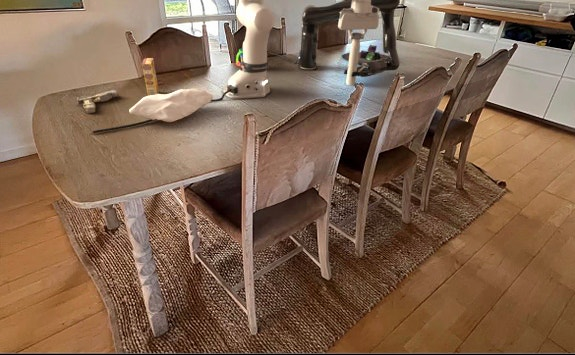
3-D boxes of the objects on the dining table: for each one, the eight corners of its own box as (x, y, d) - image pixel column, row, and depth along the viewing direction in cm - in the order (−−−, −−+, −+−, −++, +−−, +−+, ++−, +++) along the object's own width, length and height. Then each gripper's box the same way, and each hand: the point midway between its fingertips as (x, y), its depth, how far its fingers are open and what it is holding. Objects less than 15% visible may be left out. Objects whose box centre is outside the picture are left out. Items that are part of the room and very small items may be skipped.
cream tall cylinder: (346, 85, 188) (353, 35, 175) (345, 82, 192) (351, 33, 179) (355, 85, 189) (362, 35, 175) (353, 82, 193) (360, 33, 179)
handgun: (128, 97, 156) (111, 87, 164) (86, 107, 144) (70, 97, 152) (129, 103, 157) (113, 94, 165) (88, 114, 146) (72, 103, 154)
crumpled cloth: (117, 110, 146) (113, 90, 140) (195, 92, 166) (194, 73, 160) (143, 139, 134) (140, 118, 128) (223, 116, 154) (224, 96, 148)
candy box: (157, 97, 164) (152, 63, 155) (147, 98, 163) (141, 63, 155) (158, 91, 171) (153, 57, 163) (149, 91, 170) (143, 58, 162)
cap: (360, 40, 176) (361, 34, 175) (351, 39, 177) (351, 33, 176) (361, 38, 180) (362, 33, 178) (352, 37, 181) (353, 32, 179)
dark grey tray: (408, 61, 231) (410, 46, 226) (368, 68, 213) (370, 52, 209) (368, 52, 256) (369, 39, 251) (330, 58, 238) (331, 43, 234)
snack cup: (256, 64, 215) (256, 46, 209) (265, 68, 208) (265, 50, 202) (232, 67, 207) (231, 49, 202) (240, 72, 200) (240, 53, 195)
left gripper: (343, 9, 165) (340, 41, 173) (382, 9, 171) (377, 39, 179) (337, 7, 170) (334, 38, 178) (375, 7, 176) (371, 36, 184)
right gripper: (361, 58, 198) (339, 62, 188) (382, 64, 188) (359, 69, 179) (359, 72, 202) (337, 76, 192) (379, 78, 192) (357, 84, 183)
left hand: (356, 39), depth 178 cm, fingers closed on cap, 4 cm apart
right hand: (348, 73), depth 186 cm, fingers closed on cream tall cylinder, 4 cm apart
